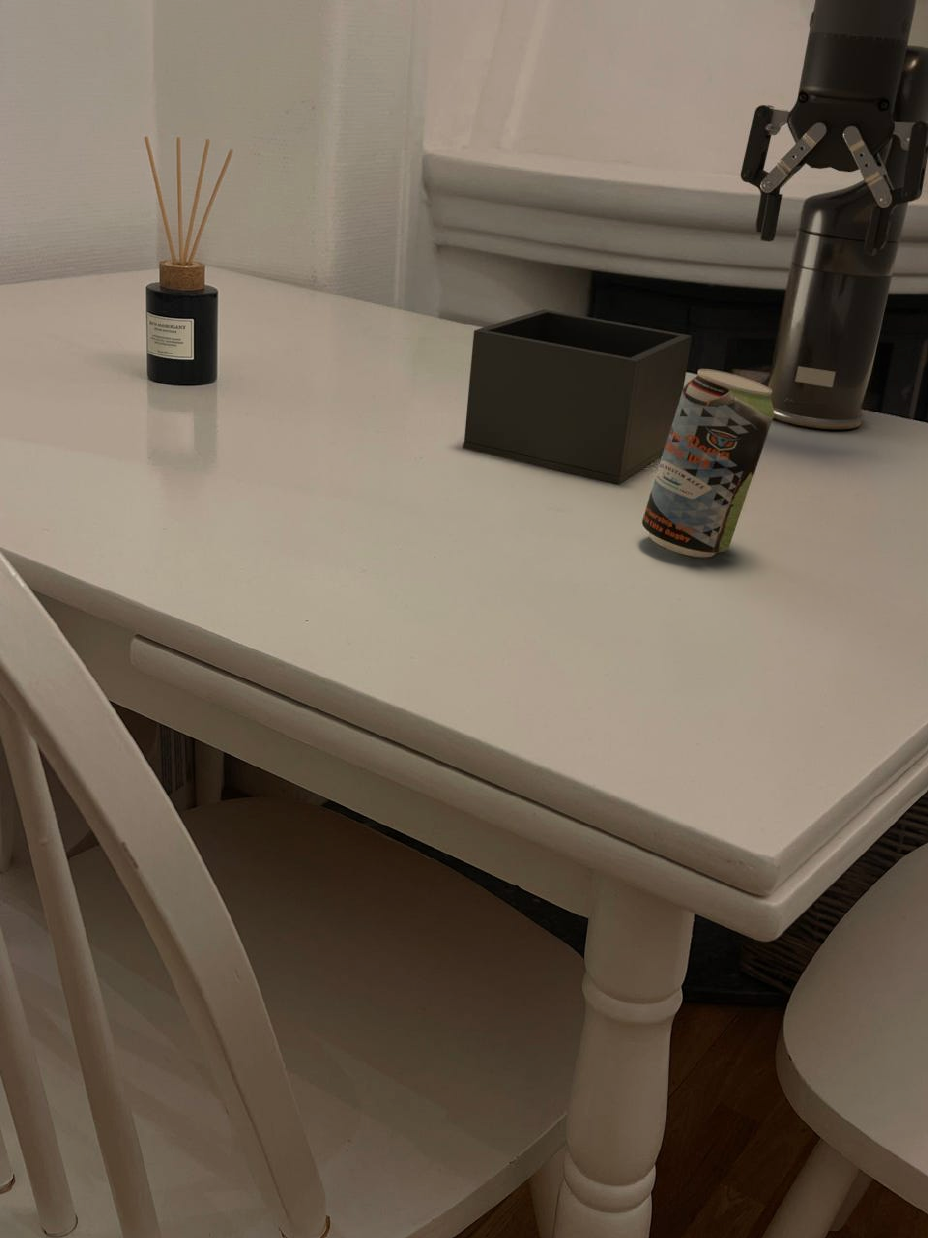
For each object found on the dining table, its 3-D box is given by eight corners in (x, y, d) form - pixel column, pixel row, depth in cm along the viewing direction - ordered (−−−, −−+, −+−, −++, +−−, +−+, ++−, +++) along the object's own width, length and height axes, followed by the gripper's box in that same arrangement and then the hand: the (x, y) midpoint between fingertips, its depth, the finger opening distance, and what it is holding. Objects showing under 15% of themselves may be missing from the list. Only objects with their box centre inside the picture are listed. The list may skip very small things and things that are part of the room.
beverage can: (622, 536, 86) (648, 362, 81) (711, 529, 89) (741, 361, 84) (671, 570, 81) (702, 387, 76) (764, 562, 84) (799, 385, 79)
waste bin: (531, 416, 114) (543, 308, 110) (674, 446, 108) (692, 335, 105) (462, 448, 102) (473, 329, 99) (618, 484, 97) (636, 360, 93)
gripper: (960, 42, 98) (912, 256, 105) (780, 28, 104) (745, 232, 110) (947, 36, 92) (896, 264, 99) (757, 22, 98) (721, 238, 104)
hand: (817, 247), depth 104 cm, fingers open, 8 cm apart
